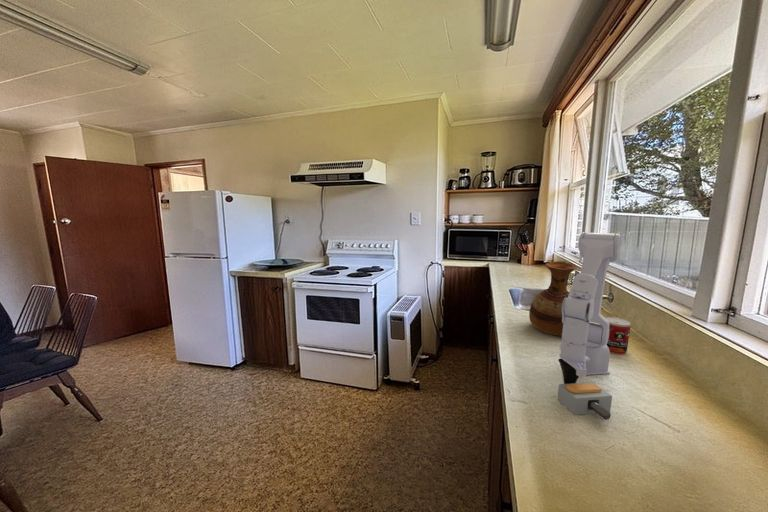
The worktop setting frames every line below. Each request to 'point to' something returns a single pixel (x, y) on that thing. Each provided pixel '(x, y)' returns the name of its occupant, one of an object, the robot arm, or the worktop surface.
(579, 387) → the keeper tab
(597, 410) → the pin
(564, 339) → the robot arm
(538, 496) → the worktop surface
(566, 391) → the block
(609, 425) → the worktop surface
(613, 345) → the canned food
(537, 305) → the brown clay vase
